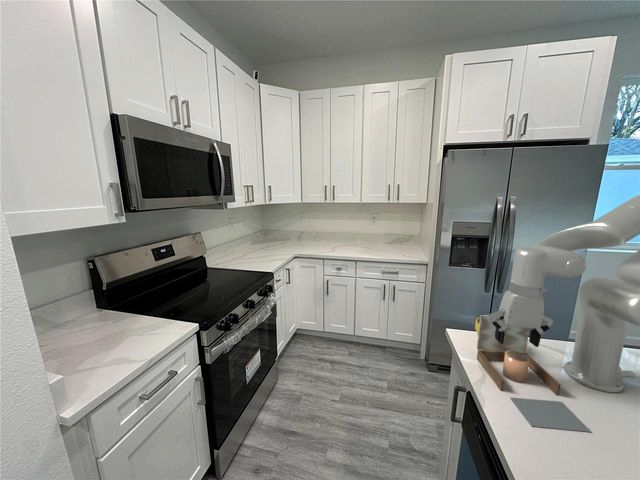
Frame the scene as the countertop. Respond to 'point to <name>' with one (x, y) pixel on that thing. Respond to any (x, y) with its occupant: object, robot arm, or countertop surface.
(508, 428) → the countertop surface
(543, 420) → the potting mat
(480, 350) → the wooden bench
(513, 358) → the flowerpot
